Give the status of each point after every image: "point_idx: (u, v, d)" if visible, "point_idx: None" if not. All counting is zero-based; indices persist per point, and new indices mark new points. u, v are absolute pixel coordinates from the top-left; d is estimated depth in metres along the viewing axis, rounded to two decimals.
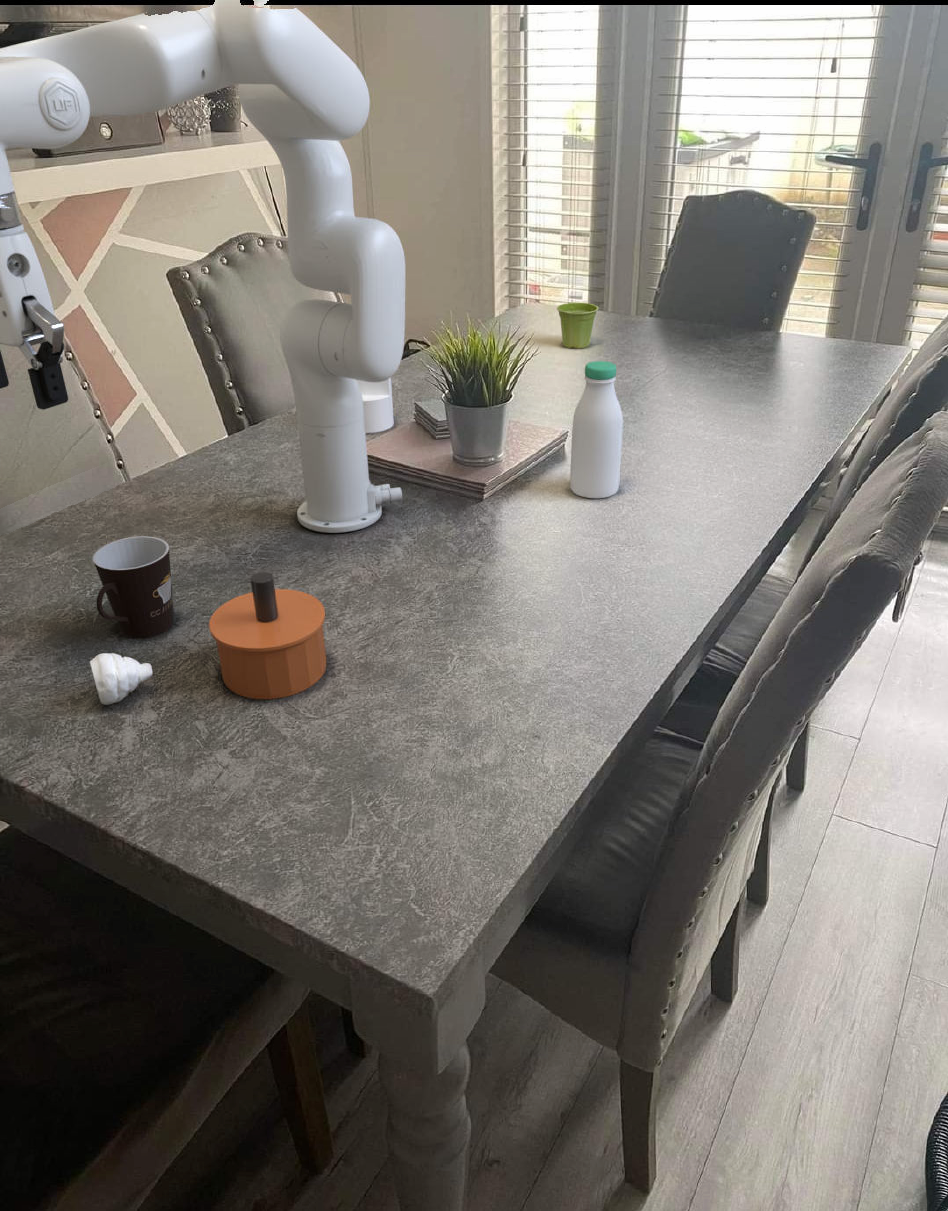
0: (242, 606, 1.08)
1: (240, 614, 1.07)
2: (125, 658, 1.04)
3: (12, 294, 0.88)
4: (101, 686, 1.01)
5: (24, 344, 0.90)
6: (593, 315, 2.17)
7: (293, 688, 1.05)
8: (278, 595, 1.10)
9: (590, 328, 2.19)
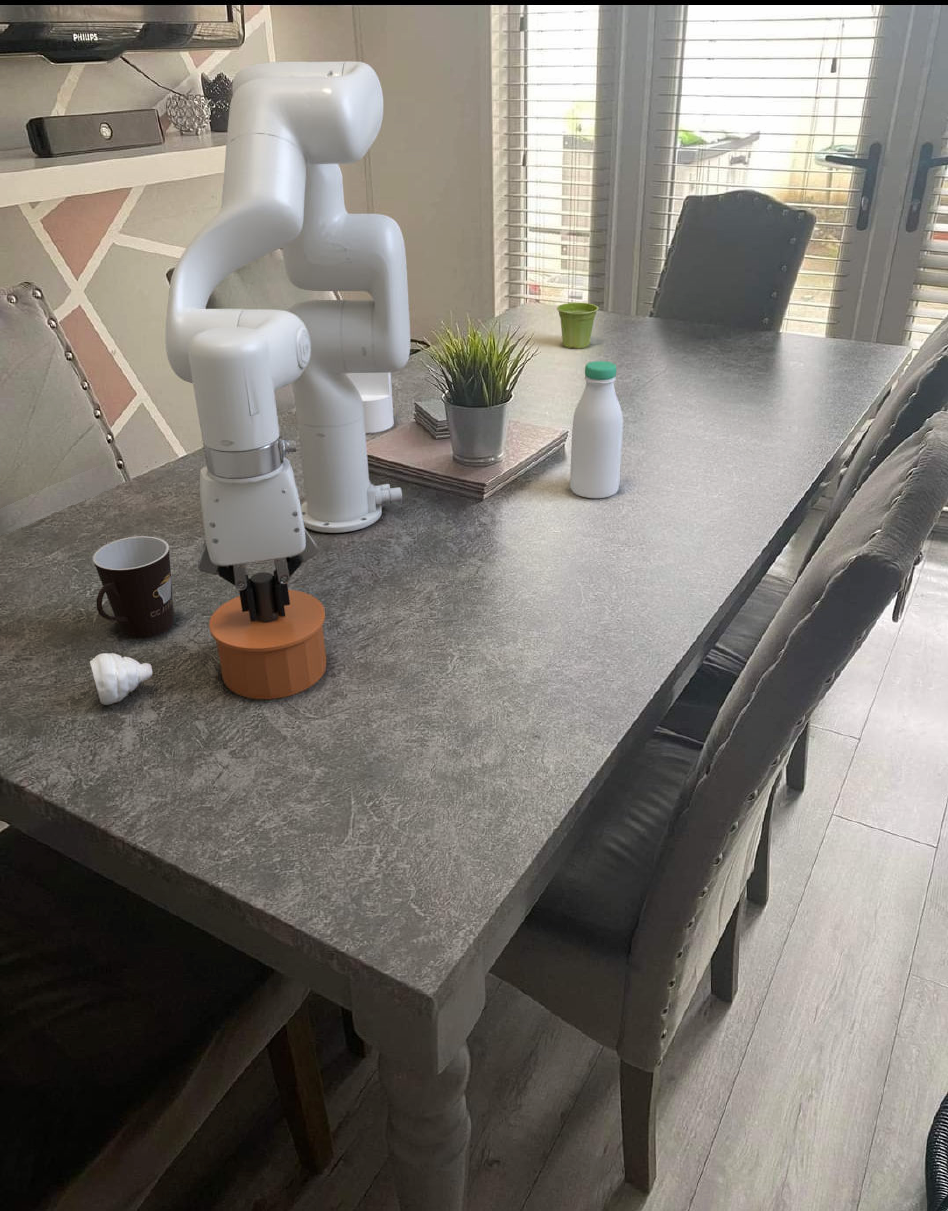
0: None
1: (240, 614, 1.07)
2: (125, 658, 1.04)
3: (301, 511, 1.00)
4: (101, 686, 1.01)
5: (285, 563, 1.02)
6: (593, 315, 2.17)
7: (293, 688, 1.05)
8: None
9: (590, 328, 2.19)
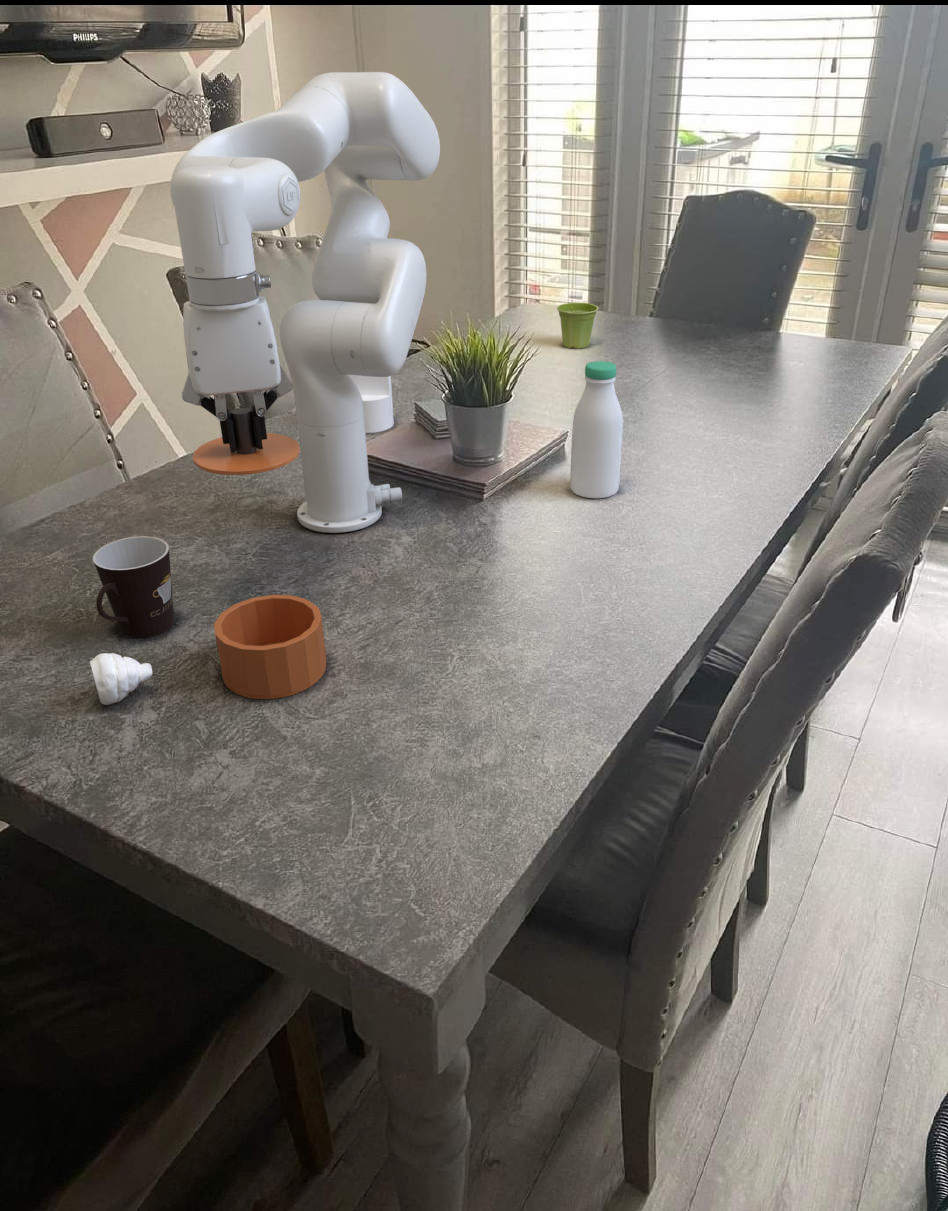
0: (223, 444, 1.18)
1: (221, 449, 1.16)
2: (125, 658, 1.04)
3: None
4: (101, 686, 1.01)
5: (262, 396, 1.12)
6: (593, 315, 2.17)
7: (293, 688, 1.05)
8: None
9: (590, 328, 2.19)
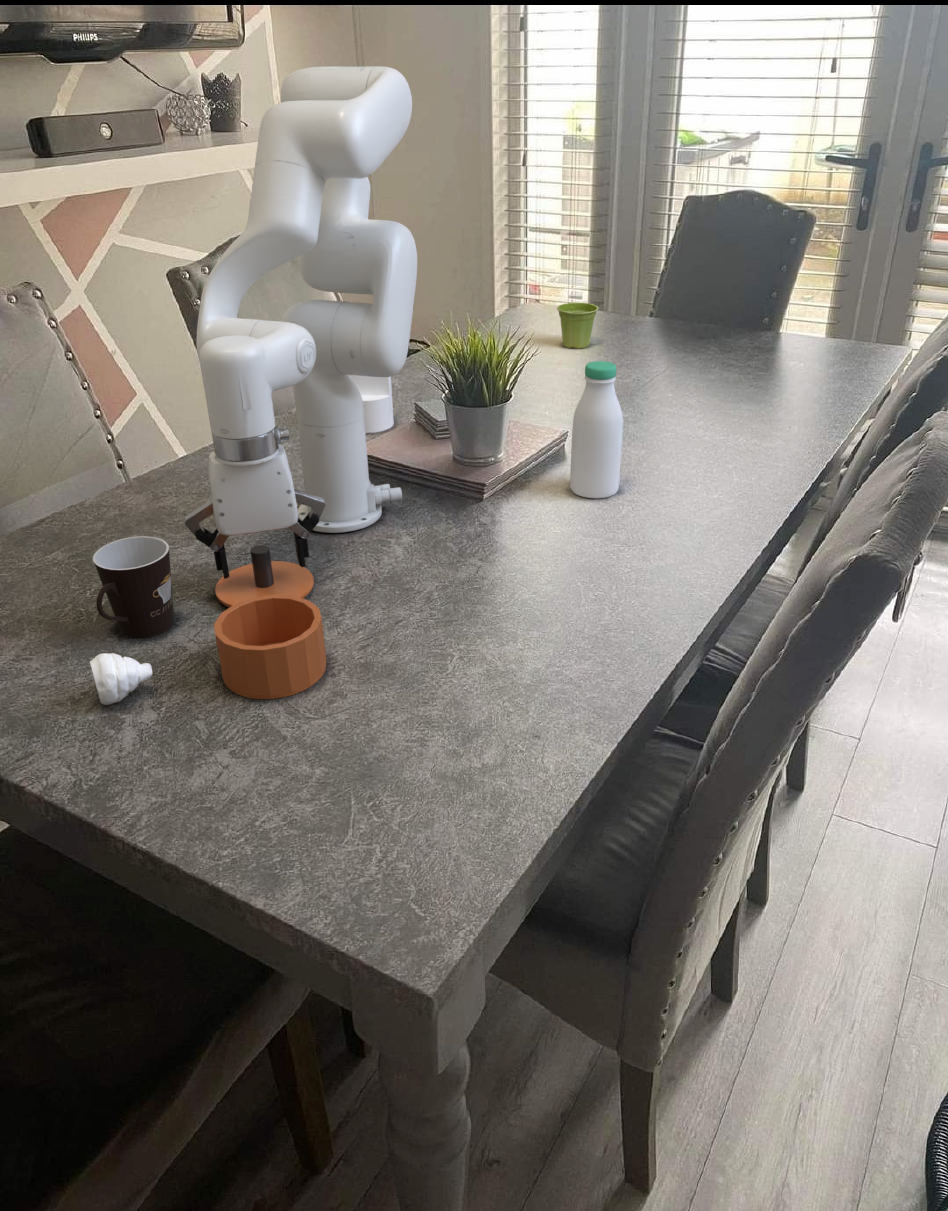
0: (243, 575, 1.27)
1: (241, 581, 1.25)
2: (125, 658, 1.04)
3: (293, 489, 1.19)
4: (101, 686, 1.01)
5: (296, 523, 1.21)
6: (593, 315, 2.17)
7: (293, 688, 1.05)
8: (274, 566, 1.29)
9: (590, 328, 2.19)
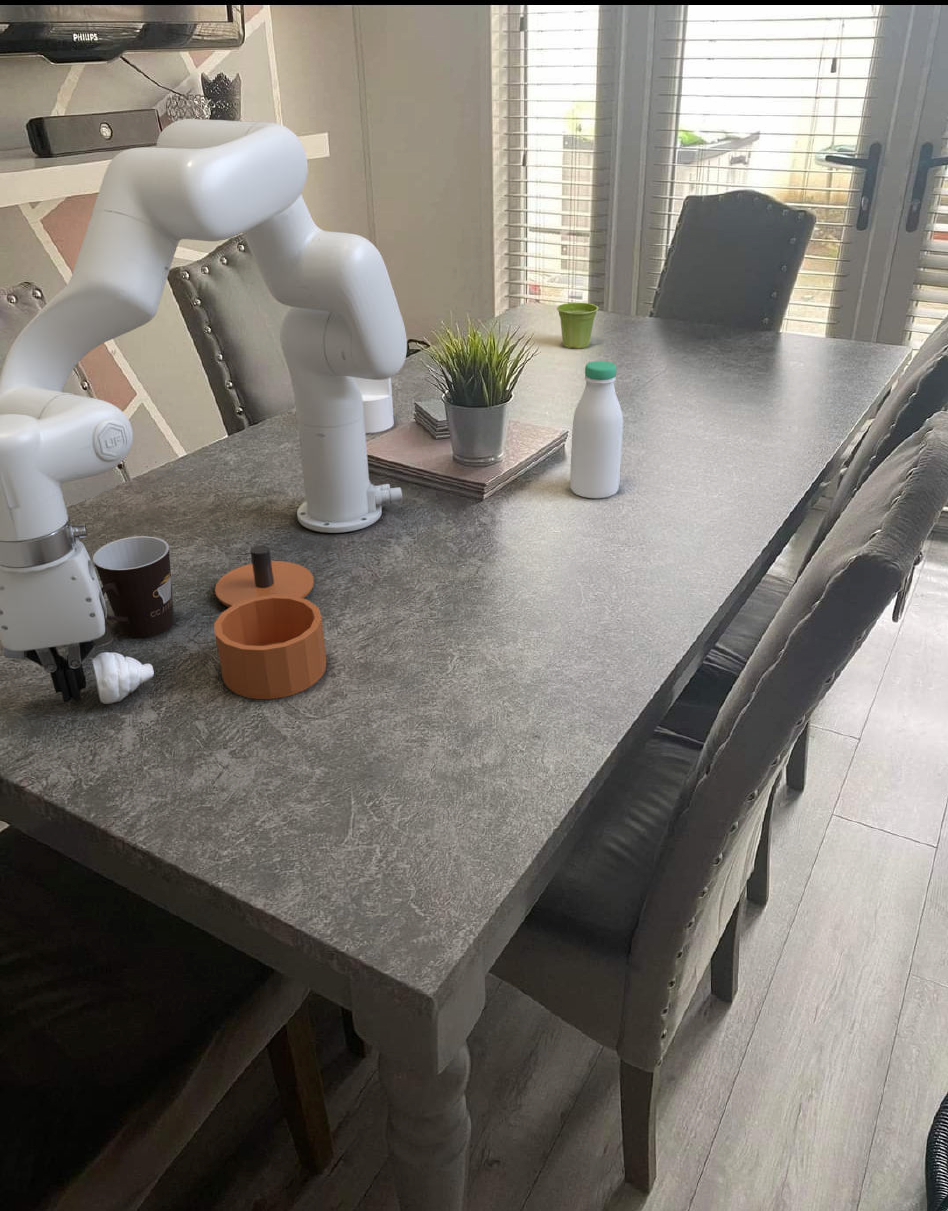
0: (243, 575, 1.27)
1: (241, 581, 1.25)
2: (127, 658, 1.04)
3: (96, 596, 0.98)
4: (102, 685, 1.01)
5: (78, 649, 1.00)
6: (593, 315, 2.17)
7: (293, 688, 1.05)
8: (274, 566, 1.29)
9: (590, 328, 2.19)
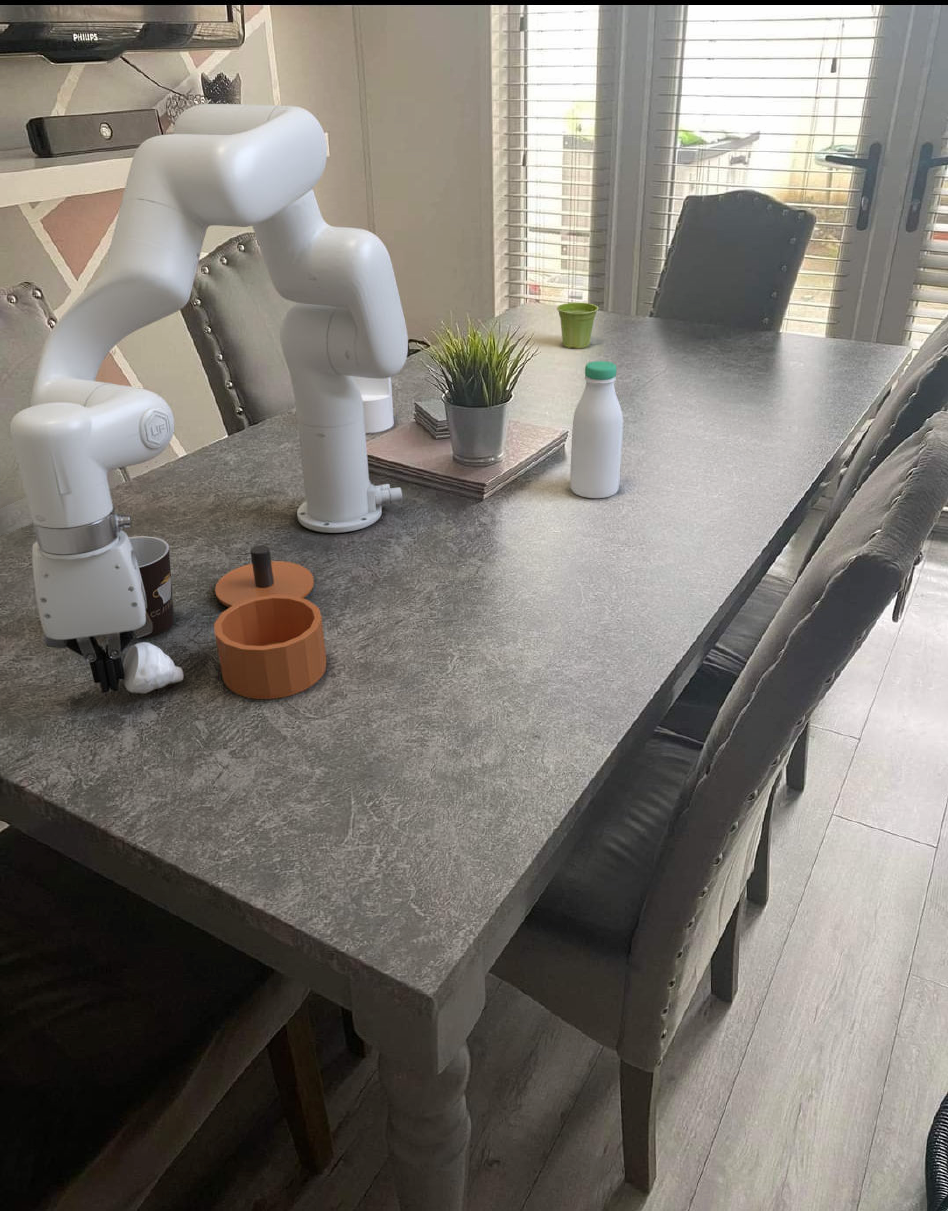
0: (243, 575, 1.27)
1: (241, 581, 1.25)
2: (166, 655, 1.05)
3: (138, 586, 0.98)
4: (140, 673, 1.02)
5: (118, 638, 1.00)
6: (593, 315, 2.17)
7: (293, 688, 1.05)
8: (274, 566, 1.29)
9: (590, 328, 2.19)
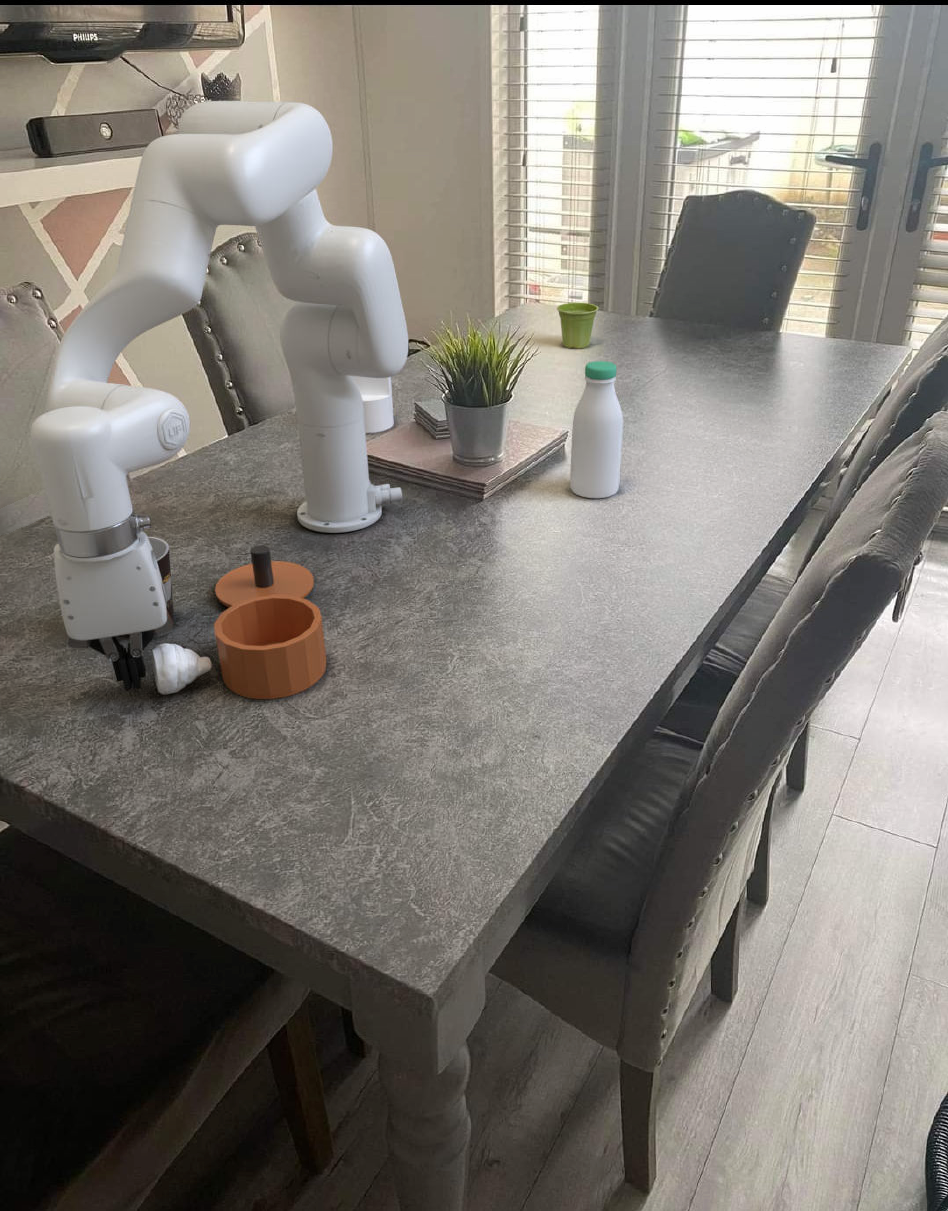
0: (243, 575, 1.27)
1: (241, 581, 1.25)
2: (186, 650, 1.05)
3: (159, 585, 0.99)
4: (162, 675, 1.03)
5: (140, 637, 1.01)
6: (593, 315, 2.17)
7: (293, 688, 1.05)
8: (274, 566, 1.29)
9: (590, 328, 2.19)
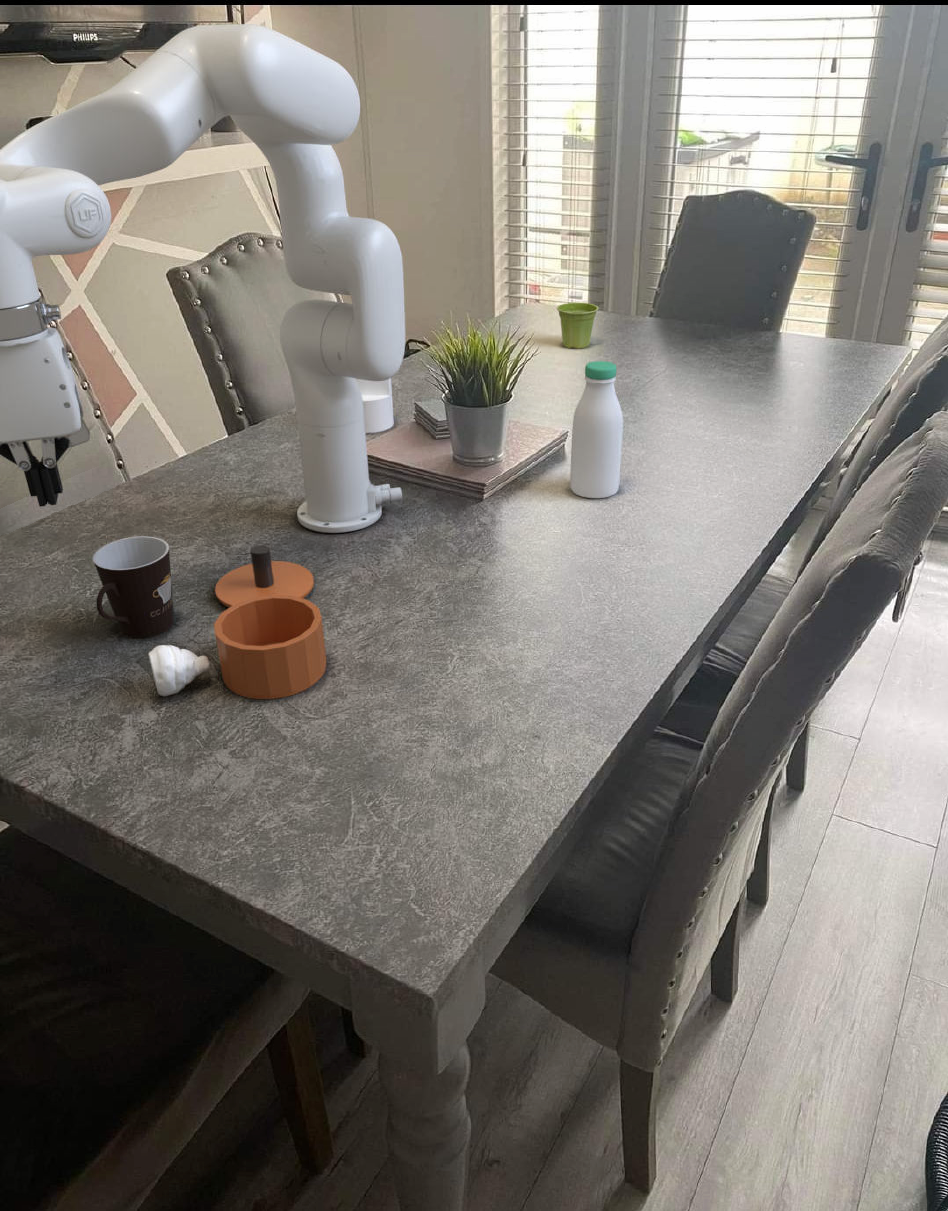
0: (243, 575, 1.27)
1: (241, 581, 1.25)
2: (183, 650, 1.05)
3: (71, 385, 0.93)
4: (159, 677, 1.03)
5: (53, 445, 0.96)
6: (593, 315, 2.17)
7: (293, 688, 1.05)
8: (274, 566, 1.29)
9: (590, 328, 2.19)
